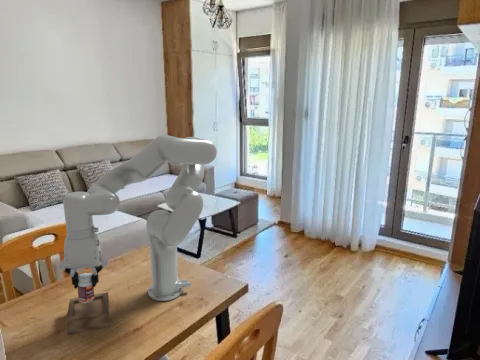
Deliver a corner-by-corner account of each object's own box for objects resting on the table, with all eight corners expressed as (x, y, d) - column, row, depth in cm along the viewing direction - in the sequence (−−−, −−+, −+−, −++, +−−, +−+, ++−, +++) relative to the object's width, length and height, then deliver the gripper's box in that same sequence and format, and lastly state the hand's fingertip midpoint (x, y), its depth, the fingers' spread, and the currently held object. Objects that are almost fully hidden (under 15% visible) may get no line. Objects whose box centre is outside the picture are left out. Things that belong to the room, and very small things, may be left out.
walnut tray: (109, 304, 121) (108, 292, 120) (109, 326, 110) (108, 312, 109) (71, 312, 117) (69, 299, 116) (68, 334, 106) (66, 320, 105)
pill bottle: (88, 304, 109) (87, 280, 107) (75, 302, 110) (73, 278, 108) (97, 296, 113) (96, 273, 111) (84, 294, 114) (83, 271, 112)
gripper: (111, 226, 111) (115, 277, 115) (54, 229, 108) (60, 281, 112) (107, 235, 104) (112, 289, 108) (46, 238, 101) (53, 294, 105)
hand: (85, 284), depth 110 cm, fingers closed on pill bottle, 4 cm apart
